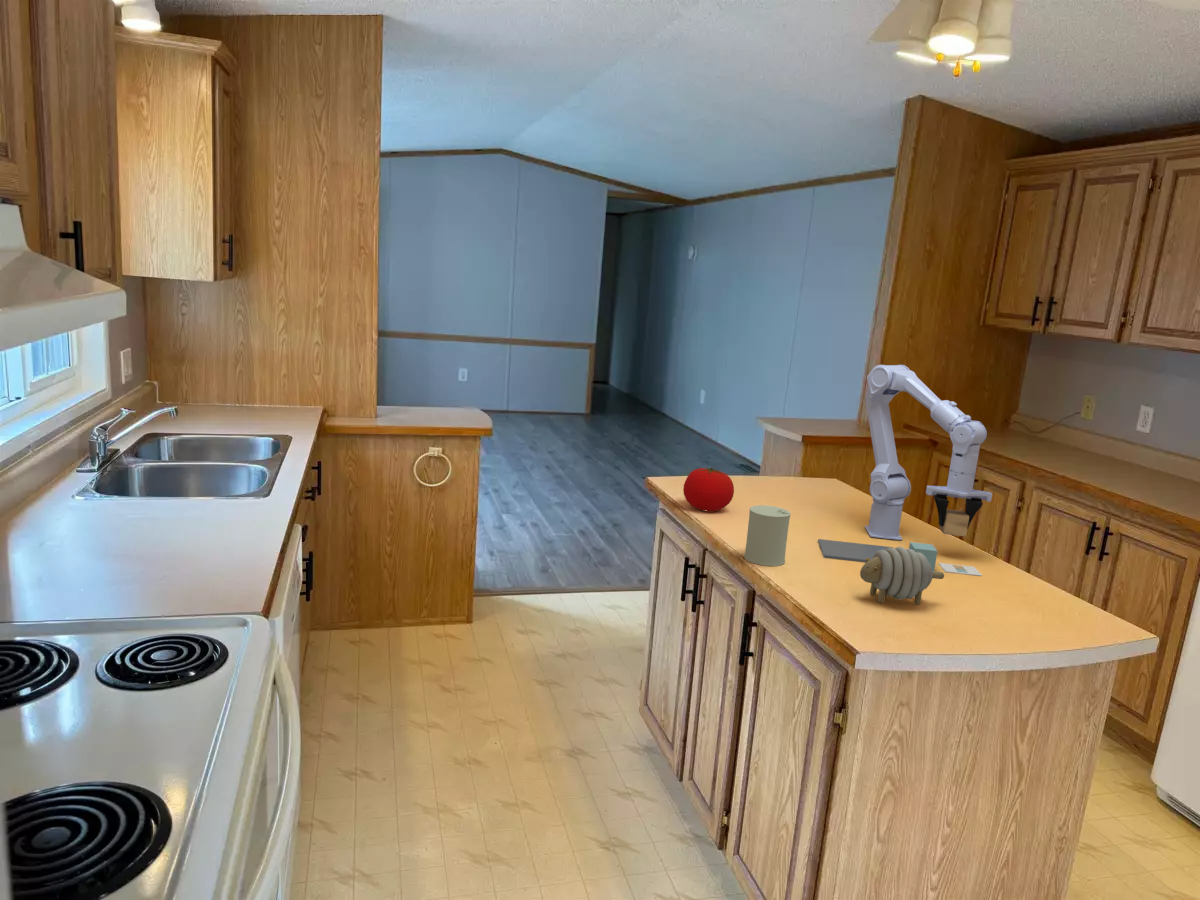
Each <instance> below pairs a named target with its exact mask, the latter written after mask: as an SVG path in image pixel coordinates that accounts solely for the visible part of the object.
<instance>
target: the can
mask: <svg viewBox="0 0 1200 900" xmlns="http://www.w3.org/2000/svg"><path fill="white" fill-rule="evenodd" d="M748 515H749V516H748V522H747V523H748V524H747V534H746V542H745V543H746V544H745V550H744V555H743V558H744V560H746V561H747V562H749V563H752V564H754V565H759V566H765V567H780V566H782V565H784V564H785V563H786V551H787V549H786V548H787V541H788V535H789V526H790V519H791V511H789V510H787V509H785V508H783V507H779V506H774V505H762V504H760V505H752V506H750V507H749V513H748Z"/></svg>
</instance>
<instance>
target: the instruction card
mask: <svg viewBox="0 0 1200 900" xmlns="http://www.w3.org/2000/svg"><path fill="white" fill-rule="evenodd" d="M938 565H939V566H940V567H941V569H942V570H943V571H944V572H945V573H952V574H960V575H969V576H976V577H977V576H978V577H982V576H983V575H982V573H981V572H980V571H979V569H977V568H976V567H975V566H972V565H971V566H969V565H962V564H961V565H960V564H951V563H943V562H938Z"/></svg>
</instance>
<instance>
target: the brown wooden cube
mask: <svg viewBox="0 0 1200 900" xmlns="http://www.w3.org/2000/svg"><path fill="white" fill-rule="evenodd" d="M968 522H969V516H968V515H967V514H966V513H965V511H964V510H959V509H952V508H951V509H950V508H949V509H948V508H947V510H946V515H945V523H944V526H940V525H939V524H938V529H939V530H940V531H941V532H942V534H944V535H949V536H957V537H967V532H968V529H969V528H968ZM967 528H968V529H967Z"/></svg>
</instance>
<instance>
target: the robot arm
mask: <svg viewBox="0 0 1200 900" xmlns="http://www.w3.org/2000/svg"><path fill="white" fill-rule="evenodd" d="M866 379H867V388H866V389H867V390H866V394H865V398H864V399H865V407H866V413H867V419H868V420H867V421H868V423H869V431H870V437H871V438H870V439H871V443H872V450H873V457H874V463H875V467H874V469H873V470H872V472H871V473H870V485H869V493H870V495H871V498H872V504H871V505H870V506H871V507H870V515H869V520H868V525H864V528H865V531H866V532H867V534H868V536H869V537H870V538H877V539H887V540H896V541H903V538H902V536H901V535H900V527H901V520H902V514H903V513H902V512H903V507H904V503H905V499H906V498H907V497H909V496H910V494H911V491H912V486H911V485H912V484H911V481H910V480H909V478H908V477H907V474H906V470H905V469H904V468H903V467H902V465H900V464H899V461H898V459H899V458H898V455H897V449H896V441H895V436H894V429H893V424H892V418H891V417H892V415H891V412H890V406H889V403H890V402H891V401H892V400H893V398H894V397H895V396H896V395H898V394H899V393H900V392H906V393H908V394H909V395H910V396H912V397H913V398H914V399H915V400H917V401H918V402H919V403H920V404H921V405H923V406H924V407H925V408H926V409H928V410H930V418H931V419H932V420H933V421H934V422H935V423H937V424H938V425H939V426H940V427H941V428H942V429H943V430H944V431H945V432H947V433H948V434H949V438H950V441H951V444H952V452H951V453H952V454H951V458H950V465H949V471H948V478H947V482H946V483H947V484H946V486H945V485H942V486H941V485H940V486H939V485H926V490H925V494H926V495H927V496H933V499H934V502H935V506H936V510H937V514H938V526H939V525H940V526H944V523H945V515H946V510H947V509H948V506H949V503H950V501H949V500H948V497H949V498H959V499H965V511H964V512H965V513H966V514H967V515H968V516H969V522H968V528H967V530H968V529H969V527H970V525H971V523H972V521H973V518H974V517H975V516H976V514H977V513H978V511H979V510H980V509H981V508H982V507H983V503H984V502H983V501H986V502H989V503H990V502H992V498H993V493H992V492H991V491H983V490H979V489H974V483H975V478H976V473H977V472H976V471H977V467H978V461H979V460H978V459H979V456H980V455H979V454H980V448H981V444H983V443H984V442H985V440H986V439H987V436H988V435H987V434H988V433H987V429H986V427H985V426H984V424H983V423H982V422H981V421H978V420H972V416H970V415H969V414H965V413H964V412H963V411H962V410H961V409H960V408H958V407H957V405H958V403H956V402H955V401H950V400H947V399H945V400H942V399H940V397H938V396H937V395H936V394H935V393H934V392H933V391H932V390H931V389H930V388H929V387H928V386H927V385H926V384H925V383H924V382H923V381H922V380H921V379H920V378H919V377H918V376H917V374H916V373H915V372H914V371H913V370H910V368H909V367H908V366H906V365H905V364H897V365H896V364H894V365H893V364H891V365H889V364H888V365H887V364H886V365H885V364H878V365H875V366H874V367H873V368H872V370H871V371H870V372H869V373H868V375H866Z"/></svg>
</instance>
